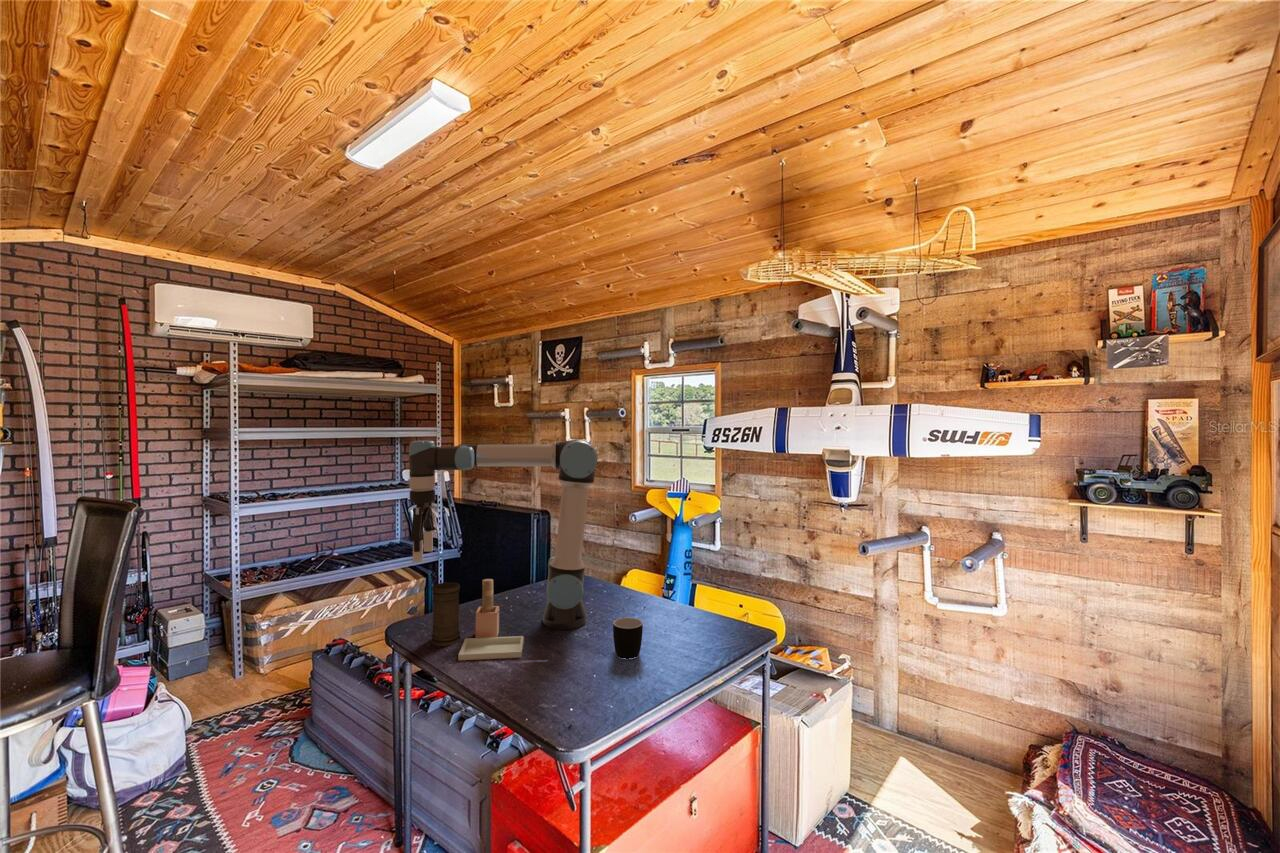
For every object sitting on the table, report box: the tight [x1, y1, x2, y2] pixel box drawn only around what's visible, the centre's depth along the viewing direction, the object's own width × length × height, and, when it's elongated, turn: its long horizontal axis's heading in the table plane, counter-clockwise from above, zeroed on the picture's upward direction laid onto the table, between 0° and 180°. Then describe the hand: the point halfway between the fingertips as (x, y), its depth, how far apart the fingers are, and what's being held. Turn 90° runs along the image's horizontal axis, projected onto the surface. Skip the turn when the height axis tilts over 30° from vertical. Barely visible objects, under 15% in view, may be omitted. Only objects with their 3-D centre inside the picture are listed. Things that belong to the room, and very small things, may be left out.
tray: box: [457, 635, 525, 661], centre depth 169 cm, size 18×12×2 cm, turn 98°
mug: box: [612, 617, 644, 659], centre depth 169 cm, size 12×9×10 cm
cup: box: [475, 605, 500, 638], centre depth 181 cm, size 7×7×9 cm
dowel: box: [481, 578, 494, 613], centre depth 181 cm, size 3×3×18 cm
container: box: [430, 581, 462, 647], centre depth 177 cm, size 9×9×18 cm
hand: (423, 556), depth 176 cm, fingers open, 13 cm apart
